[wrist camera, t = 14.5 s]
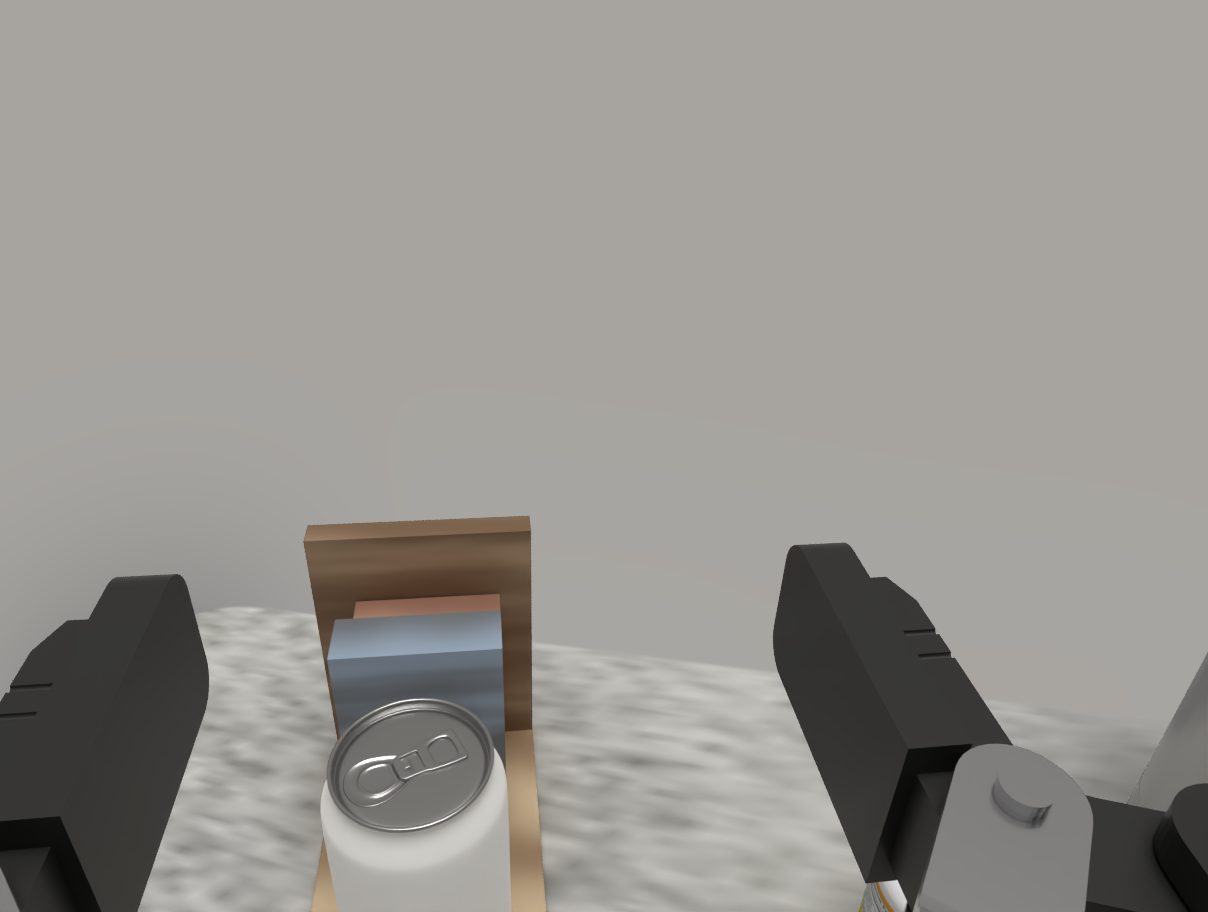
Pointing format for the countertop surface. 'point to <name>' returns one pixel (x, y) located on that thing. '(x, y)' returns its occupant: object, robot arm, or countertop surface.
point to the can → (417, 812)
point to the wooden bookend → (435, 646)
